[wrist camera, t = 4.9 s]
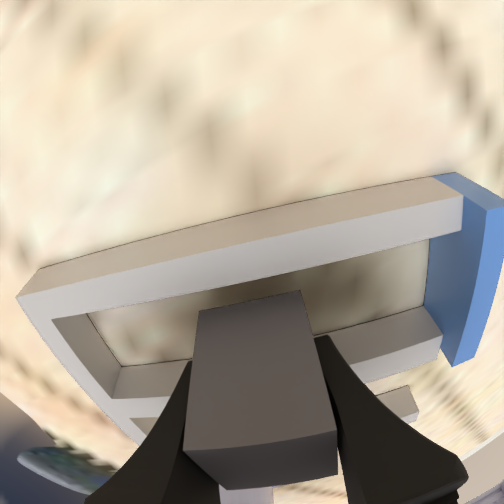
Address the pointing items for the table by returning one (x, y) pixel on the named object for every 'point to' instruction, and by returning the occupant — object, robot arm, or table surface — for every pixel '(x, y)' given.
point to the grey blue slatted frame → (279, 262)
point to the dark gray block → (259, 397)
